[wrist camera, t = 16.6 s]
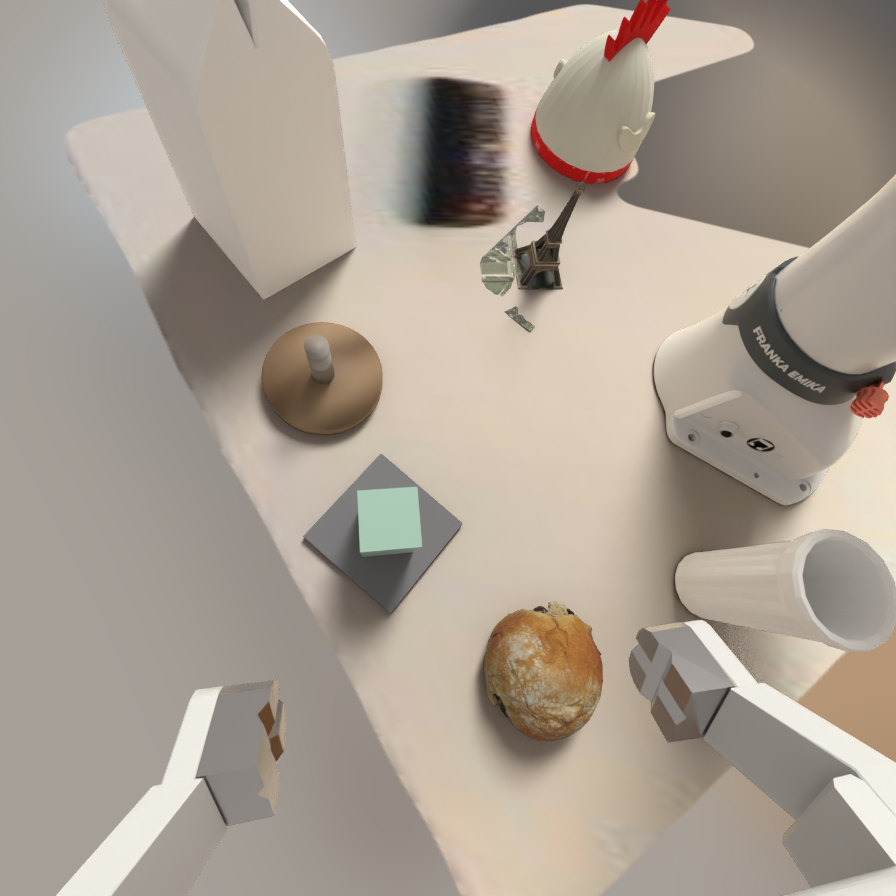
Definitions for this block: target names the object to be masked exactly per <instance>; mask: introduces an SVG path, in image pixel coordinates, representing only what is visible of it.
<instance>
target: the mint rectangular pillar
mask: <svg viewBox="0 0 896 896" xmlns="http://www.w3.org/2000/svg"><path fill="white" fill-rule="evenodd" d="M357 497H358V519H359V542H360V553H361V555H362V557H368V556H379V555H390V554H401V553H411V552H414V551H416V550H418V549H419V548H421V547H422V538H421V525H420V513H419V500H418V488H417V487H405V488H390V489H375V490H360V491H357Z"/></svg>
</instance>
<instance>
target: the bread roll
mask: <svg viewBox="0 0 896 896" xmlns="http://www.w3.org/2000/svg"><path fill="white" fill-rule="evenodd" d="M548 604H549V606H548V608H549V609H548V610H546V609H545V608H544V607H542V606H539V607H537V608H535V609H534V610H530V611H527V610H524V609H522V610H518V611H516V612H514V613H512V614H508V616H506V617H505V618H503V619H502V620H501V621H500V622H499V623H498V624H497V625H496V626H495V628H494V630H493V633H492V635H491V638H490V640H489V645H488V649H487V652H486V655H485V659H484V672H485V683H486V685H487V686H486V691H487V695H488V698H489V700H490V702H491V703H492V704H493V705H494V706H496V705H497V704H499V706H500V707H501V710H502V712H503V713H504V714H505V716H506V717H508V718H509V719H510V720H511V722H512V724H513V725H514V726H515V727H516V728H517V729H518V730H519V731H521V732H522V733H523V734H525V735H527V736H528V737H531V738H533V739H536V740H542V741H553V740H558V739H561V738H564V737H568V736H570V735H571V734H573V733H575V732H576V731H578V730H579V729H581V728H582V727H583V726H584V725H585V724H586V723H587V722H588V721H589V719H590V717H591V716H592V715H593V713H594V710H595V708H596V706H597V703H598V702H599V700H600V696H601V690H602V682H603V678H602V675H603V674H602V661H601V658H600V655H601V653H600V652H599V650H598V649H597V646H596V645H595V643H594V641H593V638H592V635H591V631H592V628H591V627H590V626H589V625H587V624H586V623H584V622H583V621H581V620H580V618H579V617H578V616H577V615H574V613H573V612H572V611H571V610H570V609H567V608H566V607H565V606H564V605H562V604H559V603H557V602H550V603H548Z"/></svg>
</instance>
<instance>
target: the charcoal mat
mask: <svg viewBox="0 0 896 896" xmlns="http://www.w3.org/2000/svg"><path fill="white" fill-rule="evenodd" d="M405 487H417V488H418V500H419V513H420V525H421V538H422V547H421V548H419V549H418V550H416V551H414V552H411V553H401V554H390V555H379V556H368V557H362V555H361V553H360V542H359V519H358V497H357V491H360V490H375V489H390V488H405ZM462 524H463V523H462V522H460V521H459V520H458V519H457V518H456V517H455V516H453V515H452V514H451V513H450V512H449V511H448V510H446V509H445V508H444V507H443V506H442V505H441V504H439V503H438V502H437V501H436V500H435V499H434V498H432V497H431V496H430V495H429V494H428V493H427V492H425V491H424V490H423V489H422V488H421V487H420V486H418V485H417V484H416V483H415V482H414V481H413V480H411V479H410V478H409V477H408V476H407V475H406V474H404V473H403V472H402V471H401V470H400V469H399V468H397V467H396V466H395V465H394V464H393V463H392V462H390V461H389V460H388V459H387V458H386V457H385V456H383V455H382V454H380V455H379V456H378V457H377V458H376V459H375V461H374V462H373V463H372V464H371V465H370V466H369V467H368V468H367V469H366V470H365V471H364V472H363V473H362V474H361V475H360V477H359V478H358V479H357V480H356V481H355V482H354V483H353V484H352V485H351V486H350V487H349V488H348V489H347V490H346V491H345V492H344V494H343V495H342V496H341V497H340V498H339V499H338V500H337V501H336V502H335V503H334V504H333V505H332V506H331V507H330V508H329V510H328V511H327V512H326V513H325V514H324V515H323V516H322V517H321V518H320V519H319V520H318V521H317V522H316V523H315V524H314V526H313V527H312V528H311V529H310V530H309V531H308V532H307V533H306V534H305V535H304V536H303V537H304V538H305V539H307V540H308V541H309V542H310V543H311V544H312V545H313V546H314V547H316V548H317V549H318V550H319V551H320V552H321V553H322V554H324V555H325V556H326V557H327V558H328V559H329V560H330V561H332V562H333V563H334V564H335V565H336V566H337V567H338V568H339V569H341V570H342V571H343V572H344V573H345V574H346V575H347V576H349V577H350V578H351V579H352V580H353V581H354V582H355V583H356V584H358V585H359V586H360V587H361V588H362V589H363V590H364V591H366V592H367V593H368V594H369V595H370V596H371V597H372V598H373V599H375V600H376V601H377V602H378V603H379V604H380V605H381V606H383V607H384V608H385V609H386V610H387V611H388V612H389V613H391V612H392V611H393V610H394V608H395V607H396V606H397V605H398V603H399V602H400V601H401V600H402V598H403V597H404V596H405V595H406V593H407V592H408V591H409V590H410V588H411V587H412V586H413V585H414V583H415V582H416V581H417V580H418V579H419V577H420V576H421V575H422V574H423V572H424V571H425V570H426V569H427V567H428V566H429V565H430V564H431V562H432V561H433V560H434V559H435V557H436V556H437V555H438V554H439V552H440V551H441V550H442V549H443V547H444V546H445V545H446V544H447V542H448V541H449V540H450V539H451V537H452V536H453V535H454V534H455V532H456V531H457V530H458V529H459V528H460V526H461V525H462Z"/></svg>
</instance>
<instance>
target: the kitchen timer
mask: <svg viewBox="0 0 896 896" xmlns="http://www.w3.org/2000/svg"><path fill="white" fill-rule="evenodd" d="M667 1H668V0H648V1H647V3H646V2H645V1H644V0H640V2H639V4H638V6H637V7H636V9H635V11H634V13H633V15H632V17H631V19H630V21H629V20H628V19H627V18H626V17H624V18H623V20H622V23H621V26H620V29H619V30H614V31H610V32H607V33H604V34H602V35H600V36H598V37H596V38H595V39H593V40H592V41H590V42H588V43H587V44H586V45H584V46H583V47H582V48H580V49H579V50H578V51H577V52H576V53H575V54H574V55H573V56H572V57H571V58H570V59H568V60H566V61H565V60H564V59H561V60H560V62H559V64H558V65H557V67H556V70H555V72H554V78H555V79H554V80H553V81H552V83H551V84H550V86H549V87H548V89H547V90H546V92H545V93H544V95H543V97H542V99H541V100H540V102H539V104H538V107H537V109H536V112H535V115H534V118H533V122H532V127H531V134H532V139H533V143H534V145H535V147H536V149H537V151H538V153H539V155H540V156H541V157H542V158H543V159H544V160H545V161H546V162H547V164H548V165H549V166H551V167H552V168H553V169H555V170H556V171H558V172H559V173H561V174H562V175H564V176H566V177H569V178H571V179H574V180H576V181H580V182H583V181H584V179H585V177H586V175H587V173H588V175H587V177H586V179H585V181H584V182H586V183H591V184H593V183H606V182H609V181H611V180H614V179H617V178H618V177H619V176H621V175H622V174H623V173H624V172H625V171H626V170H627V168H628V167H629V165H630V163H631V162H632V160H633V158H634V156H635V154H636V152H637V151H638V148H639V147H640V144H641V142H642V141H643V139H644V138H645V136H646V134H647V132H648V130H649V128H650V126H651V124H652V122H653V120H654V117H655V113H652V112H651V107H652V102H653V92H654V68H653V62H652V59H651V55H650V52H649V49H648V47H647V45H646V44H647V43H648V41H649V40H650V38H651V37H652V36H653V34H654V33H655V31H656V30H657V29H658V27H659V26H660V24H661V23H662V21H663V20H664V18H665V17H666V15H667V14H668V12H669V11H670V8H669V7H668V6H667V5H666V3H667Z"/></svg>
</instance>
